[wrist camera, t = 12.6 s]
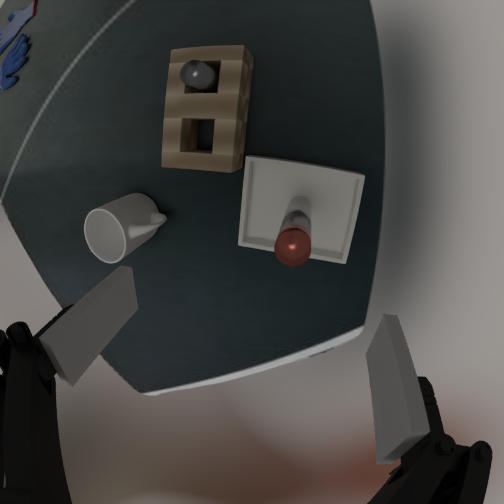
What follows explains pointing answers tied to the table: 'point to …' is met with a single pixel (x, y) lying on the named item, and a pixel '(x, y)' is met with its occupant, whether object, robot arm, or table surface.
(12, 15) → the pair of gloves
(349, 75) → the table surface
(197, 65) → the short pin
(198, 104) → the block
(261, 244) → the tray
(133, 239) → the mug
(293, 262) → the glass vial with cap
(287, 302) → the table surface
